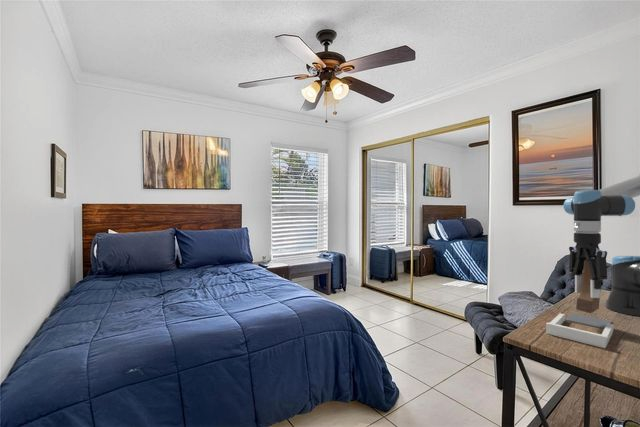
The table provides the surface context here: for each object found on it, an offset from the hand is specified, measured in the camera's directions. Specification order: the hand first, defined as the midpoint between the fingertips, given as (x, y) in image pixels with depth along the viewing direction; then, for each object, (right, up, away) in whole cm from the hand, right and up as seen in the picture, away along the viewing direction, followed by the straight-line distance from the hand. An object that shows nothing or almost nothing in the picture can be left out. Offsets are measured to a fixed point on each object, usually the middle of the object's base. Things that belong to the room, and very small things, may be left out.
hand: (587, 294), depth 113 cm
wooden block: (0, -5, 0) cm, 5 cm away
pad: (+4, -11, +4) cm, 12 cm away
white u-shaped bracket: (-8, -11, -7) cm, 16 cm away
